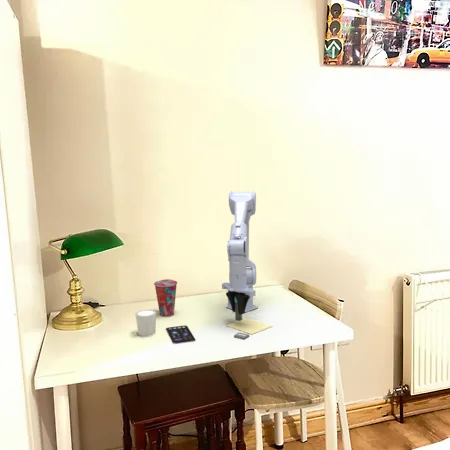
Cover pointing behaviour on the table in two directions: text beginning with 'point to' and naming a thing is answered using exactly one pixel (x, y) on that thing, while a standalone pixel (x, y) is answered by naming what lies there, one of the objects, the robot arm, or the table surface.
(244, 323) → the note pad
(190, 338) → the smartphone
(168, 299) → the cup
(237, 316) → the marker
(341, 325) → the table surface
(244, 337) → the word tile
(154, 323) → the white short cylinder
